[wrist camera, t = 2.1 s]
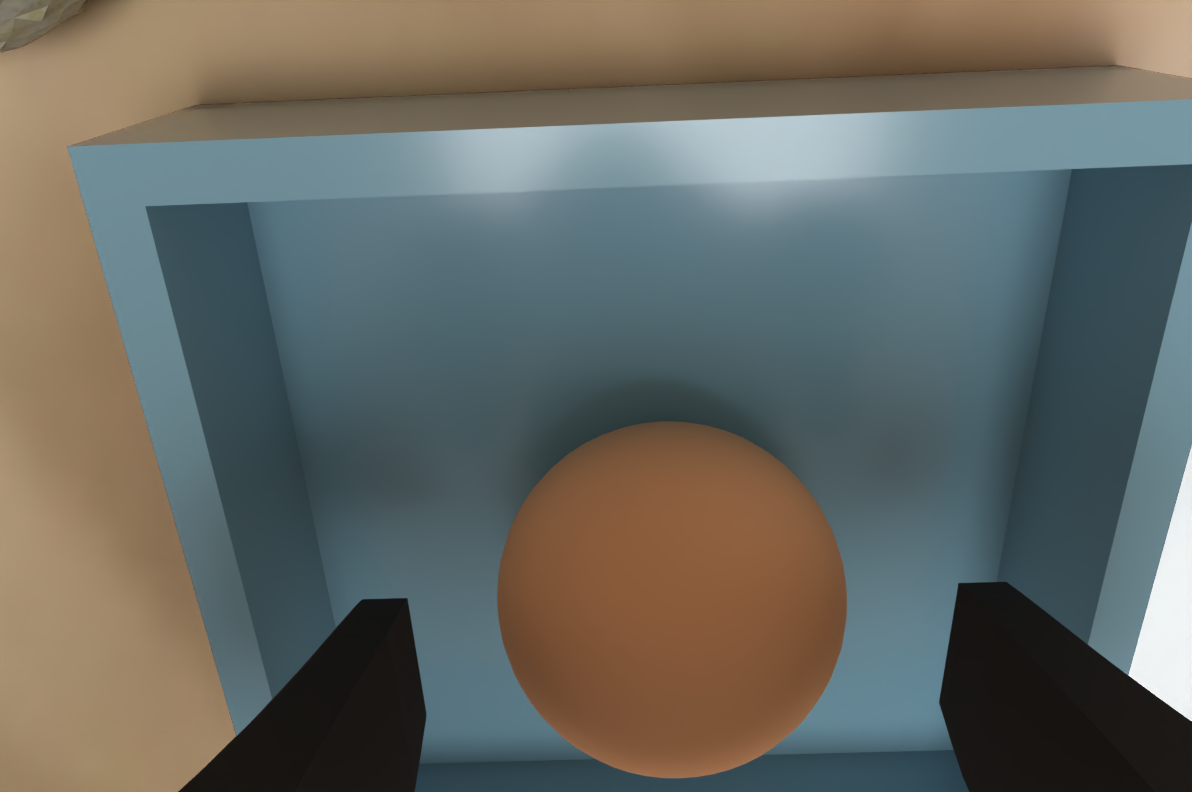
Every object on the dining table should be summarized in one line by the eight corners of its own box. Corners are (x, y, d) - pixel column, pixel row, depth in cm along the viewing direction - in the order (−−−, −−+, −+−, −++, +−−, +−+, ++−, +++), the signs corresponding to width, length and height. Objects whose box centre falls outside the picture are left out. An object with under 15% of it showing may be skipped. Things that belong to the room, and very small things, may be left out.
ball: (524, 621, 16) (496, 866, 12) (501, 372, 14) (454, 556, 10) (798, 613, 16) (873, 858, 12) (815, 361, 14) (915, 543, 10)
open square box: (343, 767, 19) (290, 927, 16) (196, 104, 13) (67, 147, 10) (984, 750, 19) (1063, 910, 15) (1118, 65, 13) (1288, 95, 10)
